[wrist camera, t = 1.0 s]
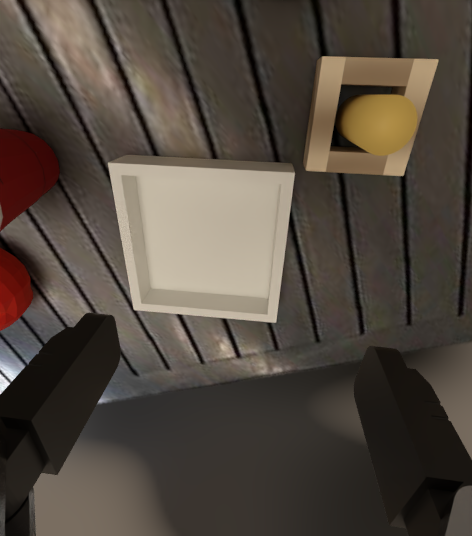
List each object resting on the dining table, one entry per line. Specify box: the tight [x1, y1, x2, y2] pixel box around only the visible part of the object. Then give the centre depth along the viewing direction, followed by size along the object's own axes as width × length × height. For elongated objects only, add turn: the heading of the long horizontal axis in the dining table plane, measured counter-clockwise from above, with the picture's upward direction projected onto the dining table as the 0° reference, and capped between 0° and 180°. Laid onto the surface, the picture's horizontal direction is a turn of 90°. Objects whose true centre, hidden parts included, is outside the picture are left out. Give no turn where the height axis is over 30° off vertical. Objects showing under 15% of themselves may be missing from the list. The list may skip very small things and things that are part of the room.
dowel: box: [335, 95, 417, 156], centre depth 22 cm, size 4×4×8 cm
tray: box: [108, 155, 295, 323], centre depth 31 cm, size 16×16×4 cm
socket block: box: [303, 56, 439, 176], centre depth 25 cm, size 8×8×3 cm
